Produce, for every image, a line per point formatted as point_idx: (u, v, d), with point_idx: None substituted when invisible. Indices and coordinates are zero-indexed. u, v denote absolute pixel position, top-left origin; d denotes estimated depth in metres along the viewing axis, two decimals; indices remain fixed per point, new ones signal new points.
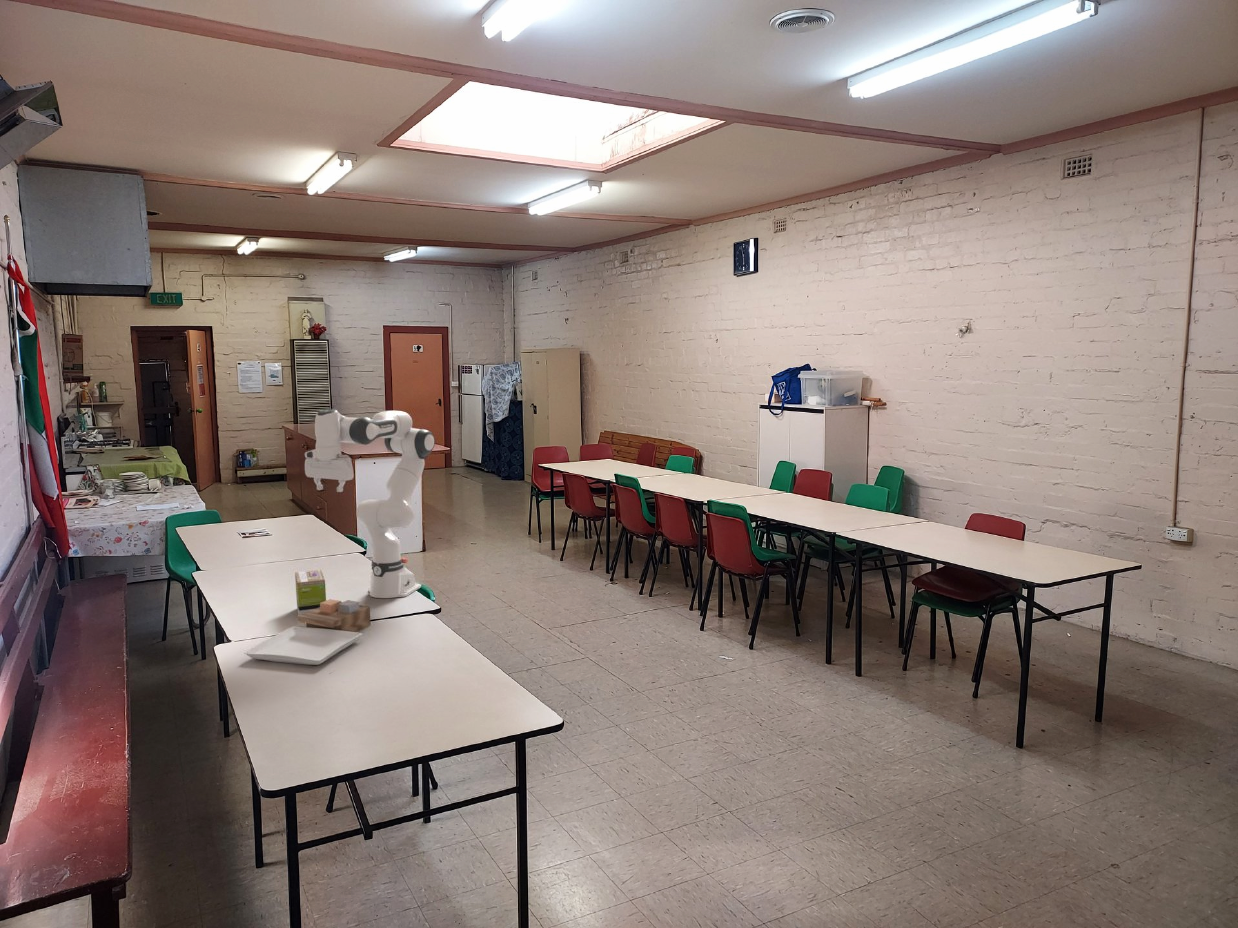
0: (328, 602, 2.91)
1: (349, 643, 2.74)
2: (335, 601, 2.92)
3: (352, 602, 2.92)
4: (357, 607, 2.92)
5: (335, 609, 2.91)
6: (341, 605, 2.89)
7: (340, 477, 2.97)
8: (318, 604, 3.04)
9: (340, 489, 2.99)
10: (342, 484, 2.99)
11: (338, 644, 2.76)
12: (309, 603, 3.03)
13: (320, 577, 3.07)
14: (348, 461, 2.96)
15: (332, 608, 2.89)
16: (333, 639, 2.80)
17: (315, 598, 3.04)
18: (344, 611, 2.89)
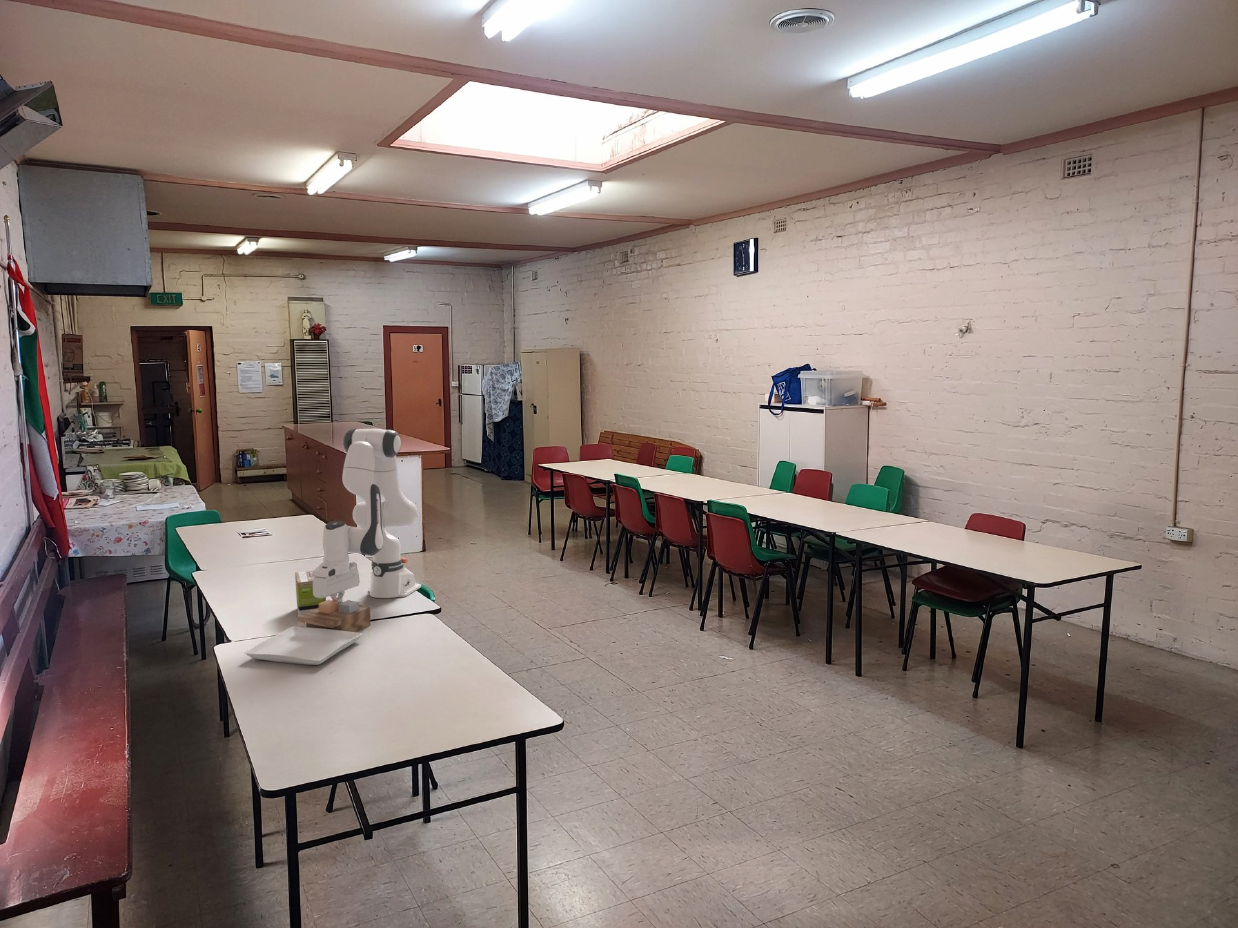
0: (327, 602, 2.91)
1: (349, 643, 2.74)
2: (334, 601, 2.92)
3: (352, 602, 2.92)
4: (357, 607, 2.92)
5: (334, 609, 2.90)
6: (341, 605, 2.89)
7: (354, 584, 3.00)
8: (318, 604, 3.04)
9: None
10: None
11: (338, 644, 2.76)
12: (309, 603, 3.03)
13: None
14: (355, 566, 3.02)
15: (331, 608, 2.89)
16: (333, 639, 2.80)
17: (315, 598, 3.04)
18: (344, 611, 2.89)
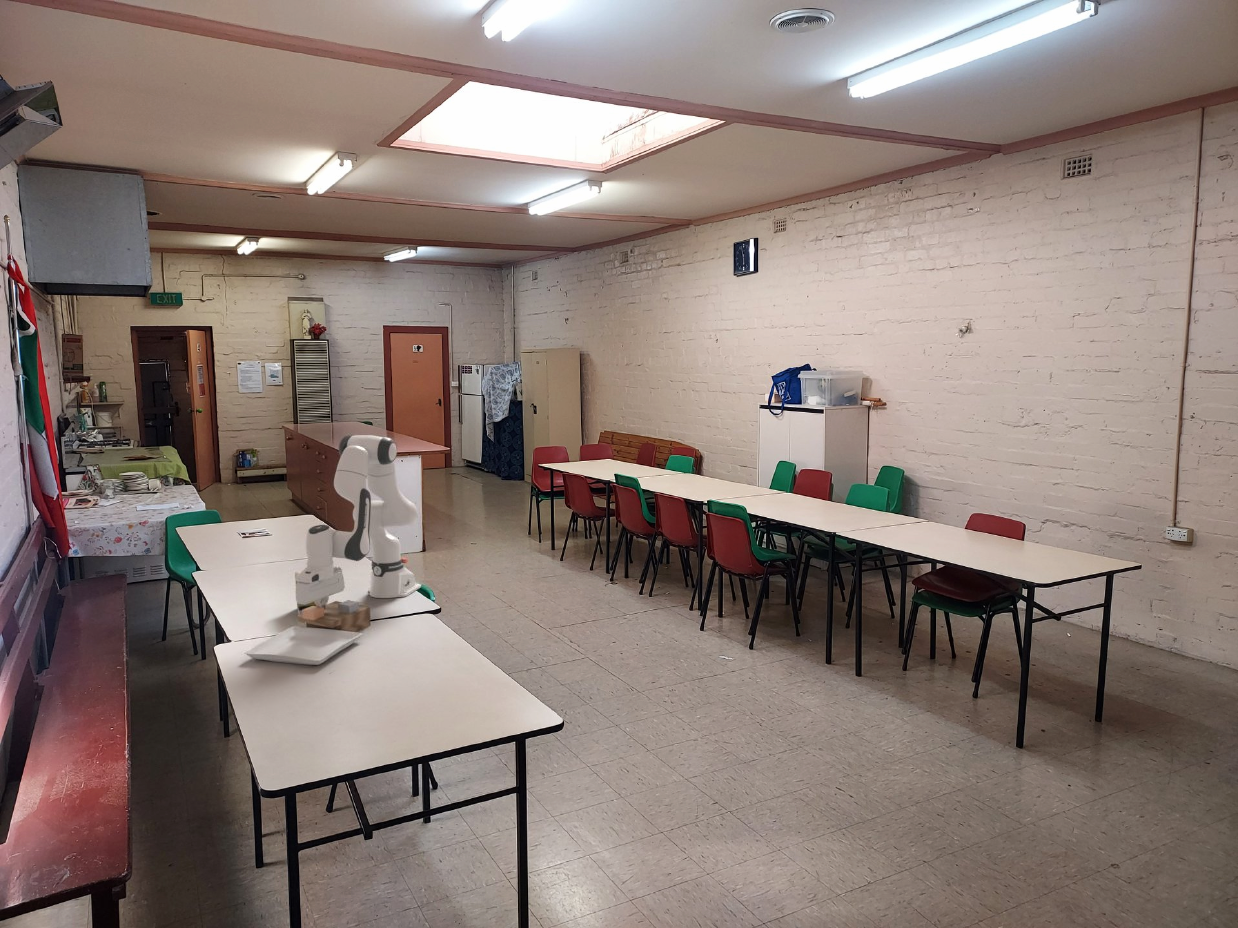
0: (311, 608, 2.84)
1: (349, 643, 2.74)
2: (318, 608, 2.85)
3: (352, 602, 2.92)
4: (357, 607, 2.92)
5: (318, 616, 2.83)
6: (341, 605, 2.89)
7: (338, 589, 2.93)
8: None
9: None
10: None
11: (338, 644, 2.76)
12: (309, 603, 3.03)
13: None
14: (340, 571, 2.95)
15: (315, 615, 2.82)
16: (333, 639, 2.80)
17: None
18: (344, 611, 2.89)
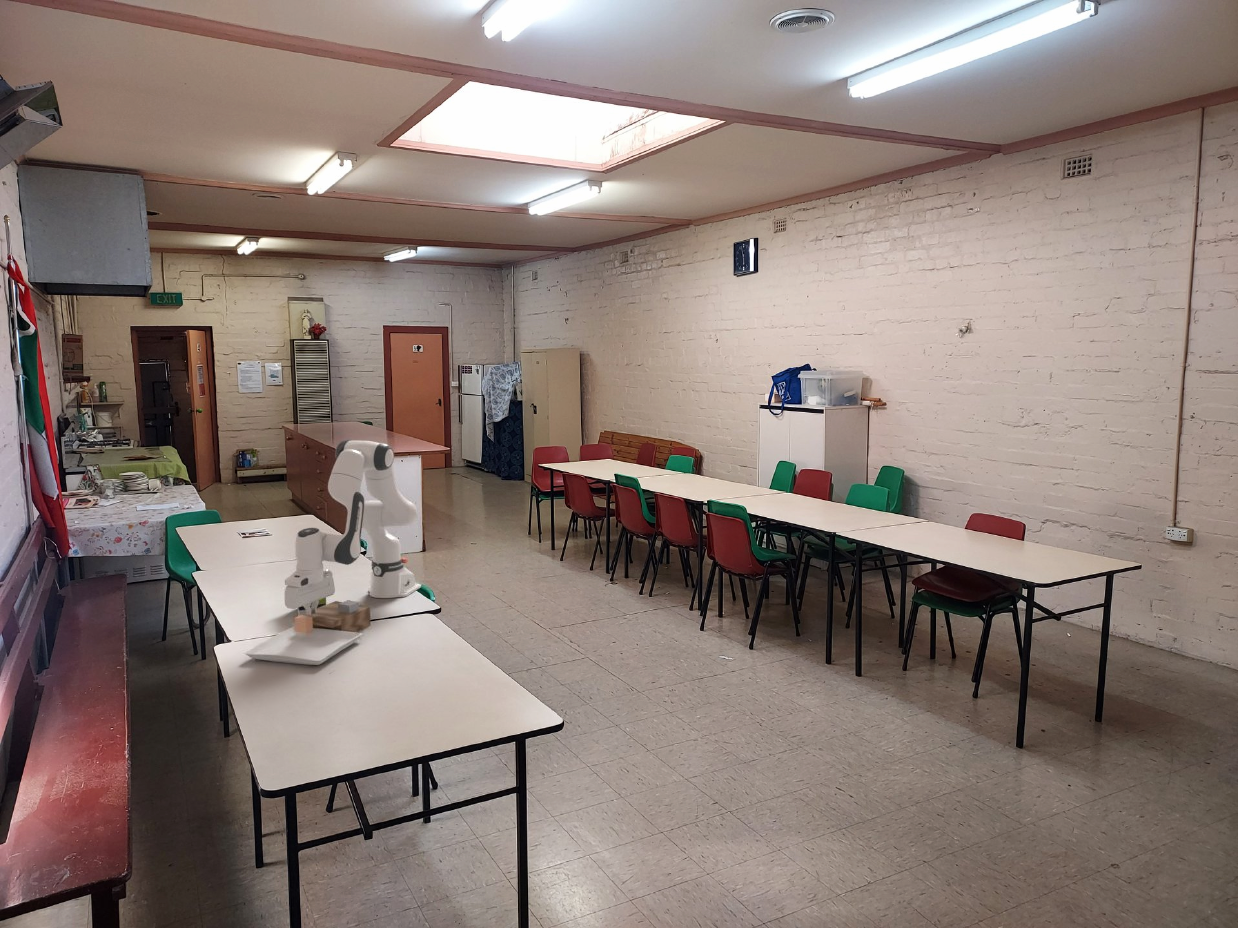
0: (299, 626, 2.79)
1: (349, 643, 2.74)
2: (302, 622, 2.78)
3: (352, 602, 2.92)
4: (357, 607, 2.92)
5: (311, 625, 2.80)
6: (341, 605, 2.89)
7: (329, 593, 2.88)
8: (318, 604, 3.04)
9: None
10: None
11: (338, 644, 2.76)
12: None
13: None
14: (331, 575, 2.90)
15: (309, 630, 2.79)
16: (333, 639, 2.80)
17: None
18: (344, 611, 2.89)
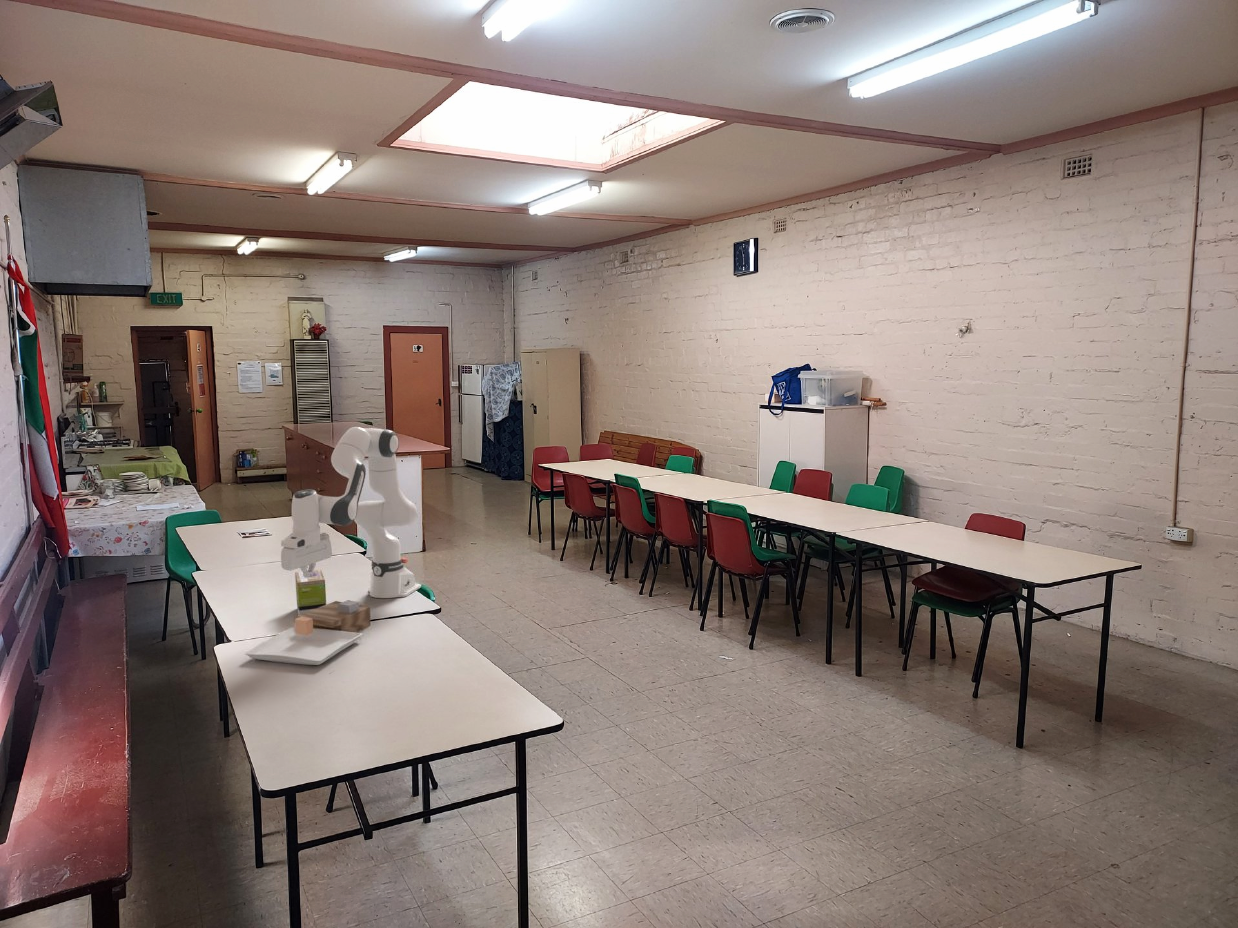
0: (300, 628, 2.77)
1: (349, 643, 2.74)
2: (303, 624, 2.77)
3: (352, 602, 2.92)
4: (357, 607, 2.92)
5: (311, 627, 2.78)
6: (341, 605, 2.89)
7: (326, 556, 2.86)
8: (318, 604, 3.04)
9: None
10: None
11: (338, 644, 2.76)
12: (309, 603, 3.03)
13: (320, 577, 3.07)
14: (328, 538, 2.88)
15: (309, 631, 2.78)
16: (333, 639, 2.80)
17: (315, 598, 3.04)
18: (344, 611, 2.89)
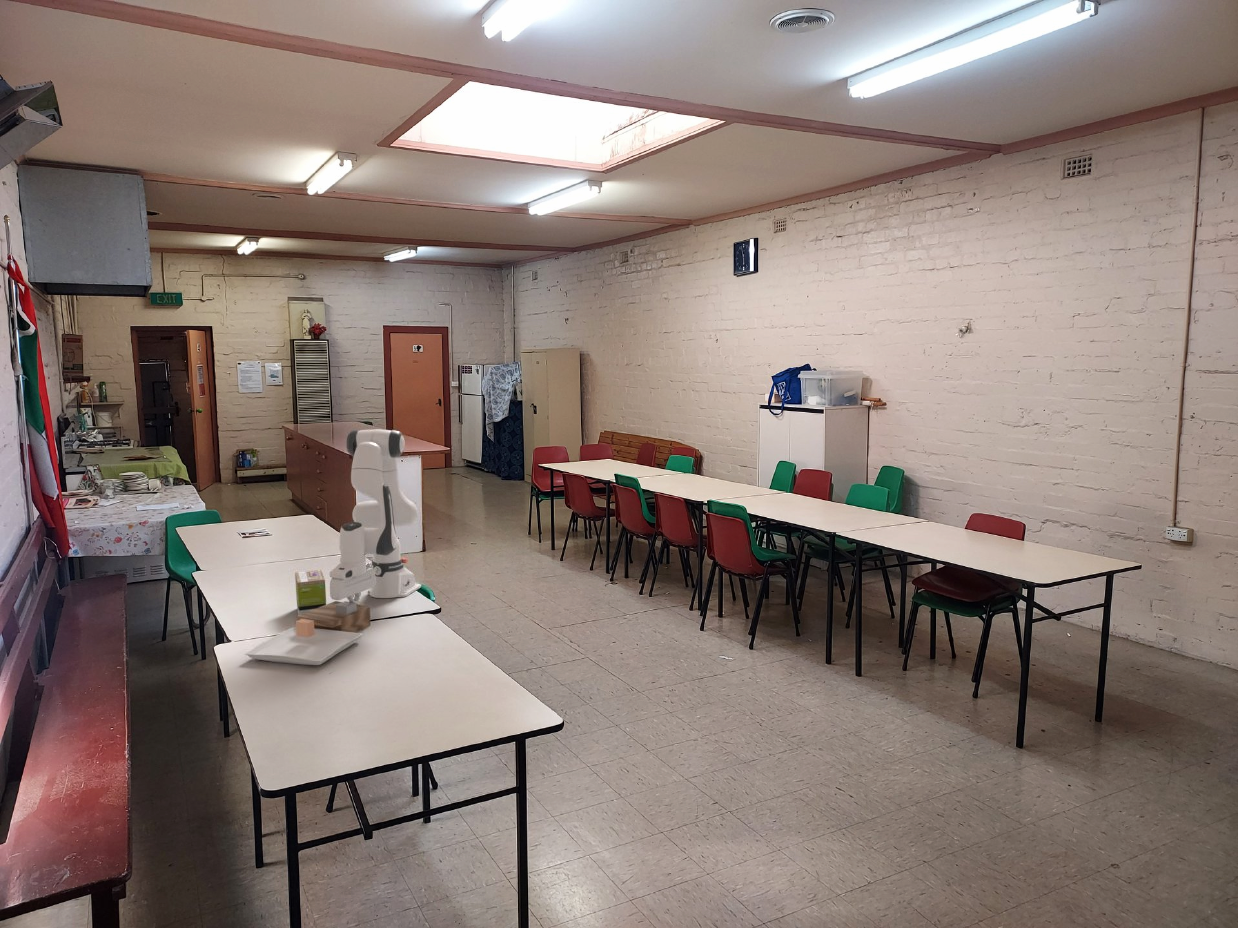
0: (301, 630, 2.75)
1: (349, 644, 2.73)
2: (304, 626, 2.74)
3: (349, 603, 2.90)
4: (354, 608, 2.90)
5: (312, 629, 2.76)
6: (338, 606, 2.88)
7: (370, 585, 2.98)
8: (318, 604, 3.04)
9: None
10: None
11: (338, 645, 2.76)
12: (309, 603, 3.03)
13: (320, 577, 3.07)
14: (372, 568, 3.01)
15: (311, 634, 2.76)
16: (333, 640, 2.80)
17: (315, 598, 3.04)
18: (342, 612, 2.88)
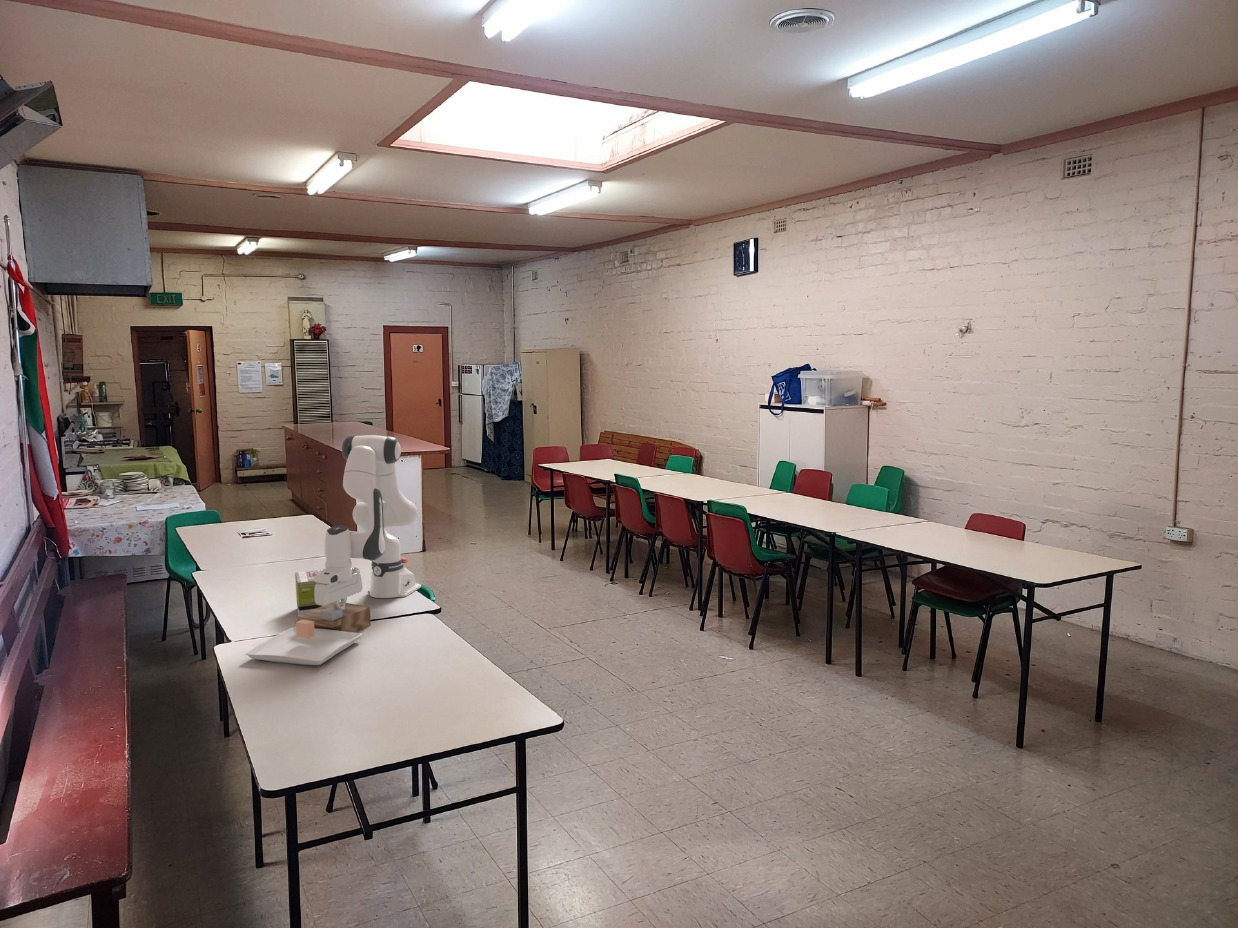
0: (301, 631, 2.74)
1: (349, 643, 2.73)
2: (304, 627, 2.74)
3: (335, 609, 2.84)
4: (340, 614, 2.84)
5: (313, 630, 2.76)
6: (323, 612, 2.81)
7: (356, 590, 2.92)
8: None
9: None
10: None
11: (338, 644, 2.76)
12: (309, 603, 3.03)
13: None
14: (358, 572, 2.94)
15: (311, 634, 2.75)
16: (333, 639, 2.80)
17: None
18: (327, 618, 2.81)
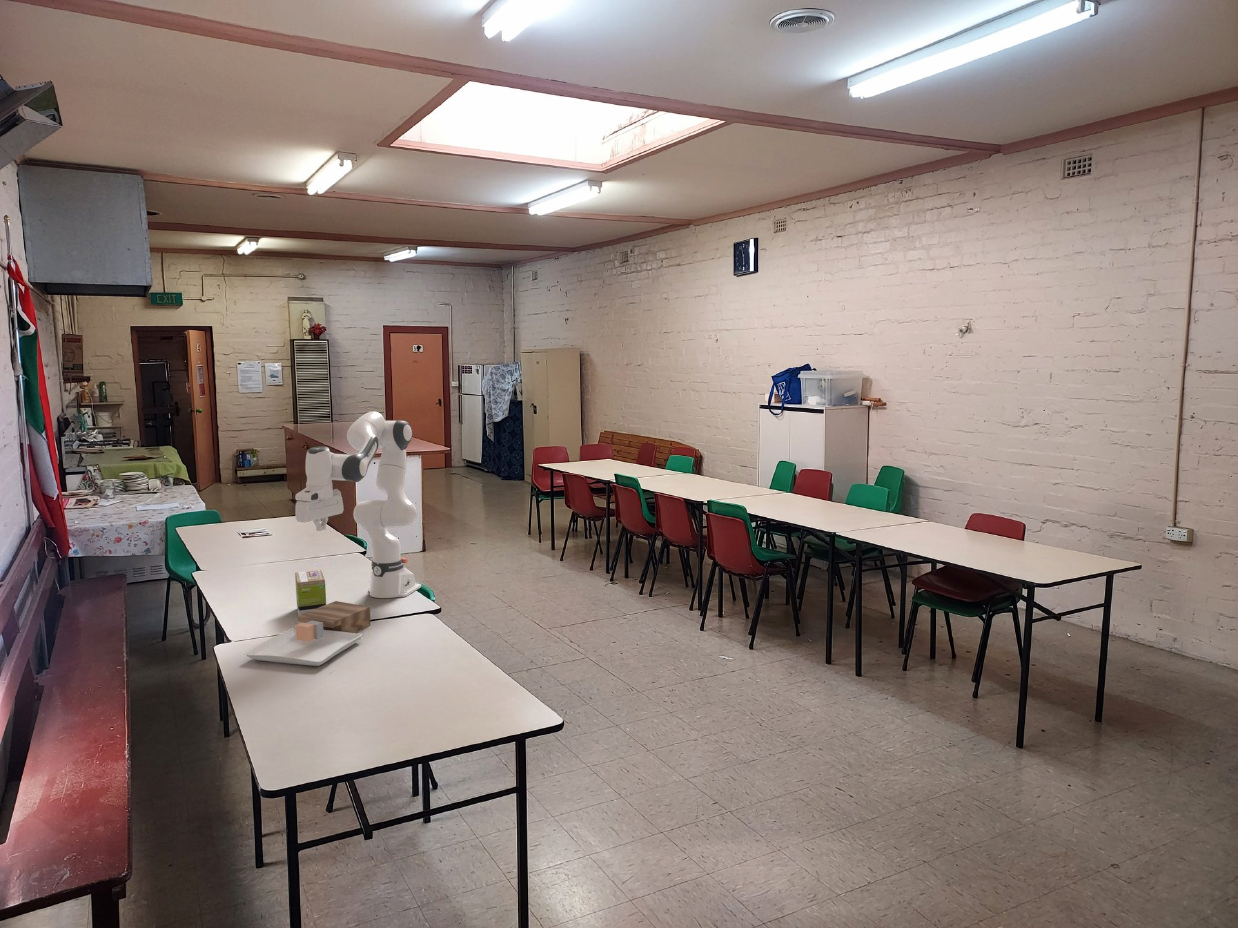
0: (301, 634, 2.71)
1: (349, 644, 2.73)
2: (304, 630, 2.71)
3: None
4: (320, 625, 2.74)
5: (312, 633, 2.73)
6: None
7: (337, 511, 2.98)
8: (318, 604, 3.04)
9: None
10: None
11: (338, 645, 2.76)
12: (309, 603, 3.03)
13: (320, 577, 3.07)
14: (339, 494, 3.00)
15: (311, 638, 2.72)
16: (333, 640, 2.80)
17: (315, 598, 3.04)
18: None
